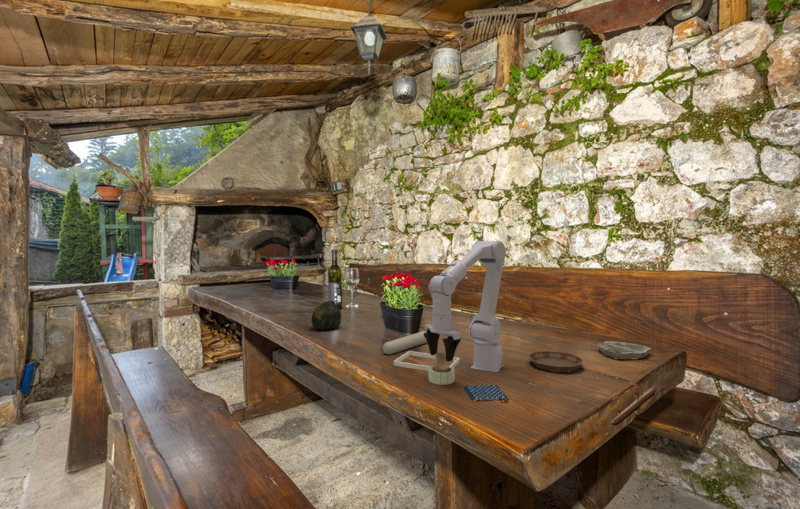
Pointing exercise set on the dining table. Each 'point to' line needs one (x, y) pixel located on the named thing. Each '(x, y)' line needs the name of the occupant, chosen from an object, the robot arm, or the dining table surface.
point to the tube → (404, 343)
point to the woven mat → (485, 393)
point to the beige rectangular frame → (416, 366)
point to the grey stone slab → (623, 350)
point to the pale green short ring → (441, 376)
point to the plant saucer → (555, 361)
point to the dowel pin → (441, 362)
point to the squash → (326, 316)
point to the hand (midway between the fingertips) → (441, 357)
